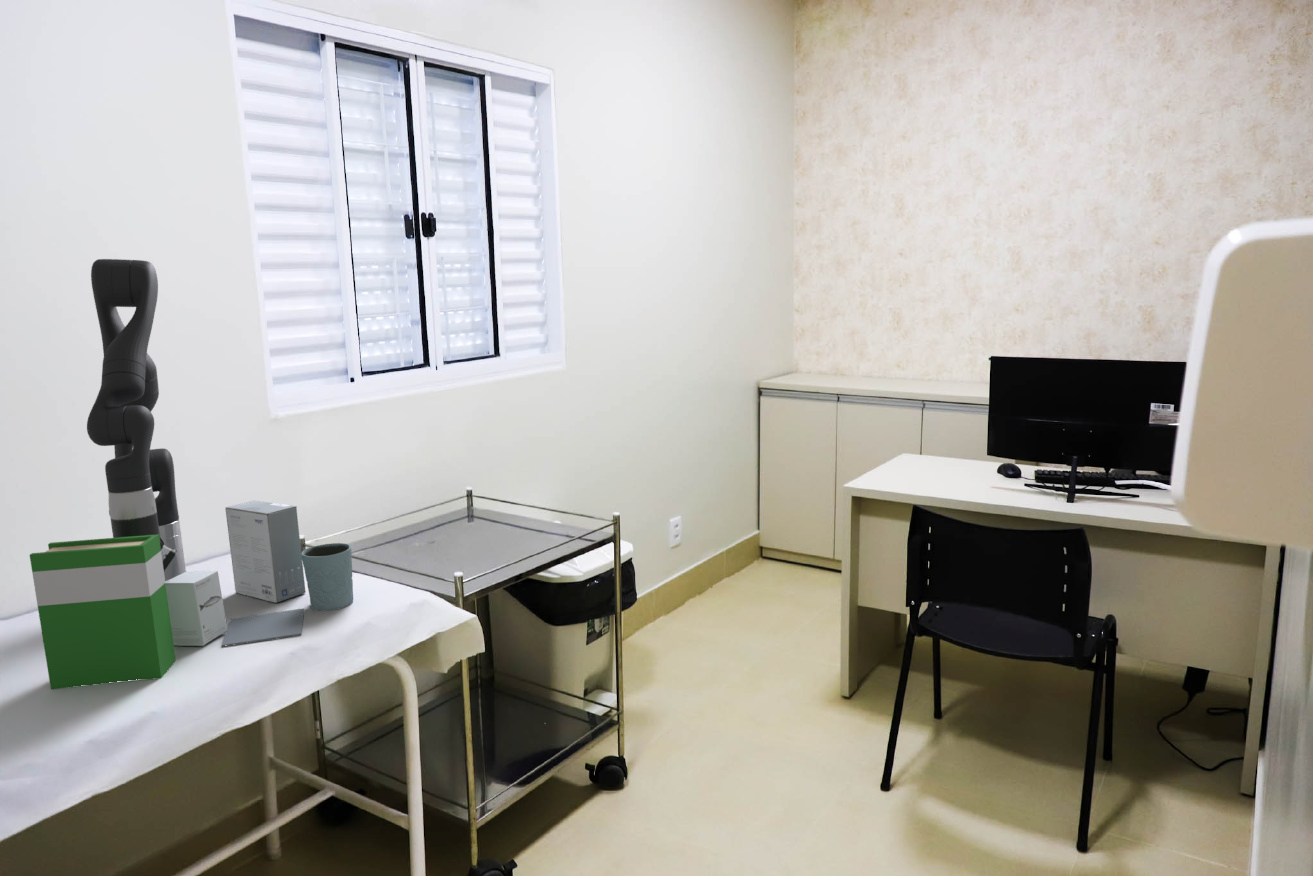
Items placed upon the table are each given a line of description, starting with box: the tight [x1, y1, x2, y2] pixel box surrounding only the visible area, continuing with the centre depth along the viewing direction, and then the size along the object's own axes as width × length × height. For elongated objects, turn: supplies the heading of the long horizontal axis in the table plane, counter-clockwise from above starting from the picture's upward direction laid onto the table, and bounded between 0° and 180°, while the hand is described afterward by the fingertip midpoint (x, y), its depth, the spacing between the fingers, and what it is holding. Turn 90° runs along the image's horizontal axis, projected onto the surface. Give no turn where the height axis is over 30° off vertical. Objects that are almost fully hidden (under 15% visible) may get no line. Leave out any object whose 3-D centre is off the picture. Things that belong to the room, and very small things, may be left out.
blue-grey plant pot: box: [301, 542, 354, 611], centre depth 192 cm, size 10×10×12 cm
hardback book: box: [29, 534, 177, 690], centre depth 158 cm, size 18×7×24 cm, turn 100°
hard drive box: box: [225, 500, 307, 603], centre depth 200 cm, size 16×8×20 cm, turn 58°
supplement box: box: [165, 570, 228, 647], centre depth 174 cm, size 7×7×13 cm
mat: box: [221, 607, 305, 647], centre depth 181 cm, size 15×14×1 cm
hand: (145, 601), depth 171 cm, fingers closed
